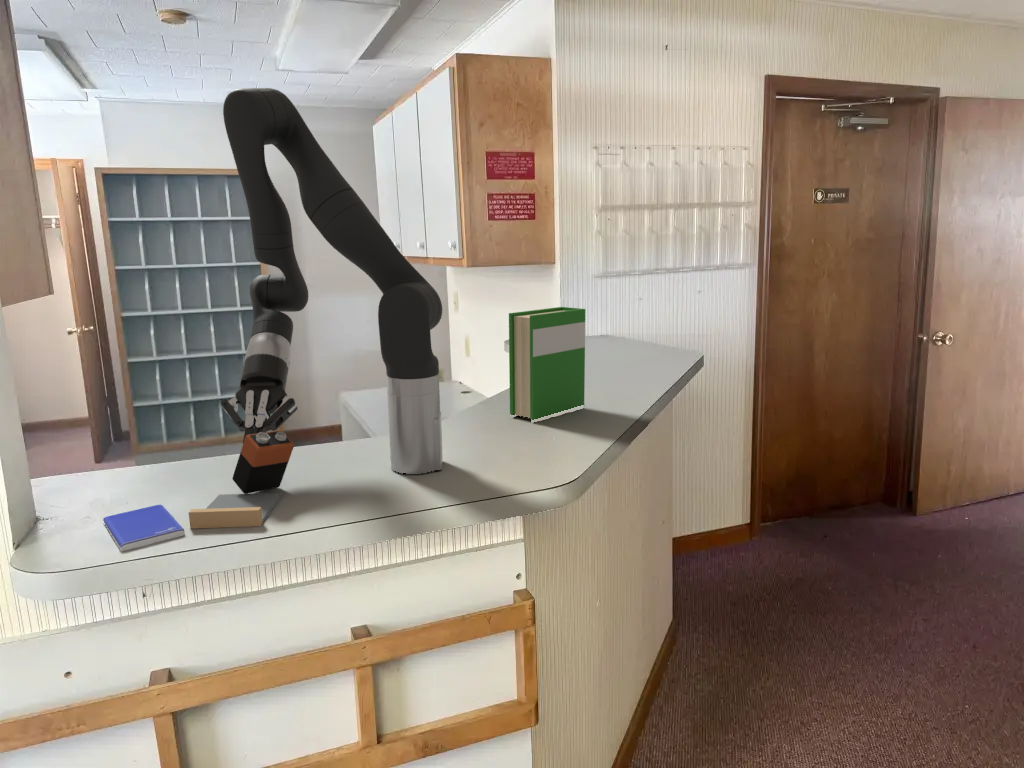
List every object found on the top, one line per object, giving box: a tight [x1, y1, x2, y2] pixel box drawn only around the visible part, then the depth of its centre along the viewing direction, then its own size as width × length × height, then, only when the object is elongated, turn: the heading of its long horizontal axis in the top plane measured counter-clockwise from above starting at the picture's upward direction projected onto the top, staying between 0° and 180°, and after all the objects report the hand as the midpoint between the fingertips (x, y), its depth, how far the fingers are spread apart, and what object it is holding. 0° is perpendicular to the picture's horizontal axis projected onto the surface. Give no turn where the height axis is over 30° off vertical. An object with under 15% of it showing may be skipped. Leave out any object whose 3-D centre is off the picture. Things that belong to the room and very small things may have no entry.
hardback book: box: [508, 306, 586, 420], centre depth 162 cm, size 18×7×24 cm, turn 135°
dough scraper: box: [188, 492, 283, 529], centre depth 108 cm, size 10×12×2 cm
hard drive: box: [102, 504, 186, 552], centre depth 102 cm, size 2×8×12 cm
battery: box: [232, 430, 295, 494], centre depth 115 cm, size 4×7×10 cm, turn 142°
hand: (251, 451), depth 116 cm, fingers closed
